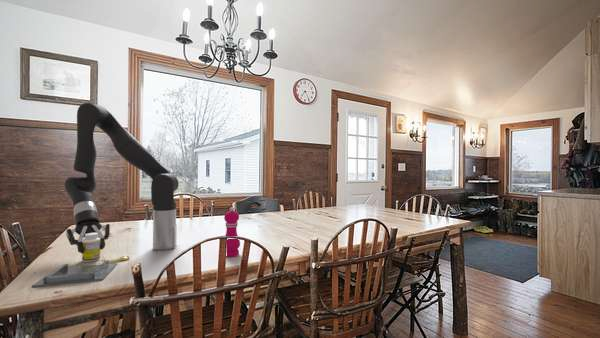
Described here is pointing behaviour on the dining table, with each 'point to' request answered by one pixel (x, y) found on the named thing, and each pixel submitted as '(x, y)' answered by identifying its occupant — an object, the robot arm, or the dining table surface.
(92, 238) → the supplement bottle
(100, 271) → the dark grey tray
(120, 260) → the brass lever handle
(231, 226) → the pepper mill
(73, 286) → the dining table surface
